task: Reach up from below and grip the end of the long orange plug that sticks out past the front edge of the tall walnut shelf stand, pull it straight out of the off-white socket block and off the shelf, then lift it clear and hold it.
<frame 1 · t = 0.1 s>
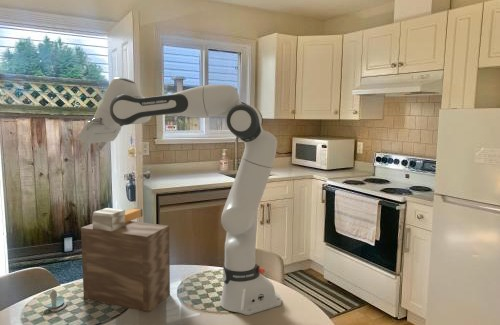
hand: (91, 151, 141), 54 cm above the table, tool tilted 30°, fingers open, 8 cm apart
shelf stand: (129, 295, 144), on the table
pacifier: (56, 308, 135), on the table
plug: (124, 221, 147), point 27 cm above the table, touching shelf stand
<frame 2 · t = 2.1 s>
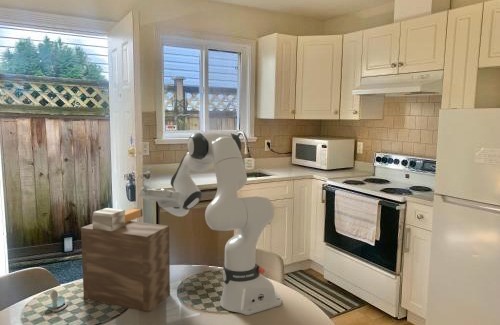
hand: (152, 189, 164), 36 cm above the table, tool pointing upward, fingers open, 8 cm apart
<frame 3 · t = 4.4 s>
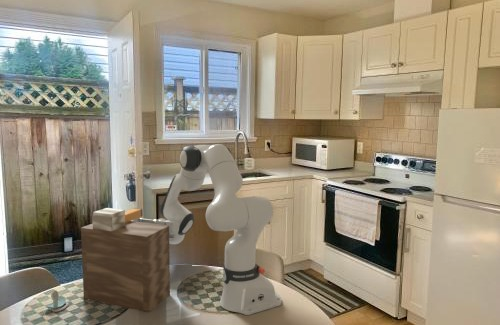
hand: (145, 220, 160), 24 cm above the table, tool pointing upward, fingers open, 8 cm apart
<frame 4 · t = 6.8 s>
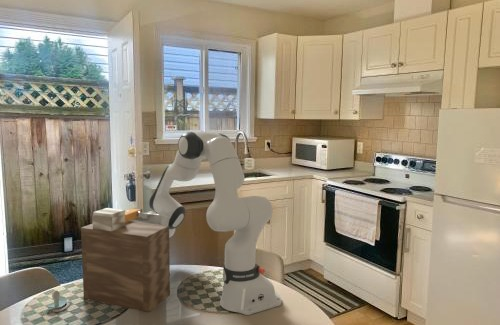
hand: (133, 213, 152), 29 cm above the table, tool pointing upward, fingers closed on plug, 3 cm apart
plug: (124, 221, 147), point 27 cm above the table, touching gripper, shelf stand
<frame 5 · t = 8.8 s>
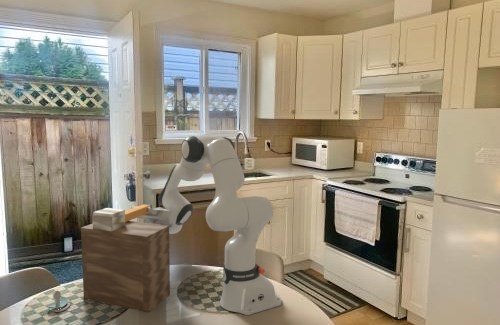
hand: (143, 208, 158), 29 cm above the table, tool pointing upward, fingers closed on plug, 3 cm apart
plug: (135, 216, 154), point 27 cm above the table, touching gripper
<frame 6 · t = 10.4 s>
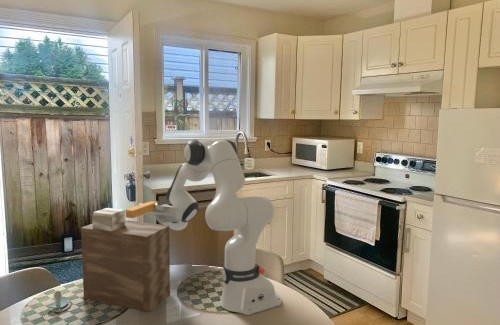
hand: (150, 205, 163), 30 cm above the table, tool pointing upward, fingers closed on plug, 3 cm apart
plug: (143, 212, 158), point 28 cm above the table, touching gripper
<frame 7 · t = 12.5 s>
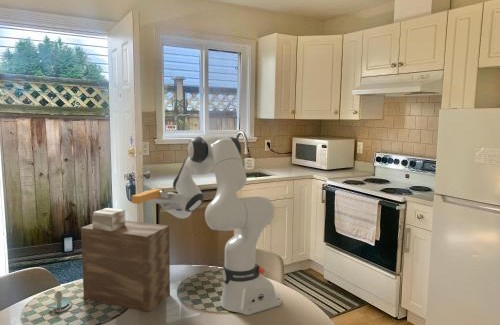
hand: (155, 192, 166), 34 cm above the table, tool pointing upward, fingers closed on plug, 3 cm apart
plug: (148, 199, 162), point 32 cm above the table, touching gripper
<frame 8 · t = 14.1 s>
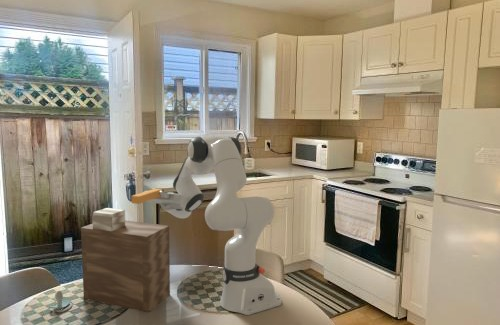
hand: (155, 192, 166), 34 cm above the table, tool pointing upward, fingers closed on plug, 3 cm apart
plug: (148, 199, 162), point 32 cm above the table, touching gripper
at the end: the gripper is holding plug; plug touching gripper; plug moved 16.9 cm from its start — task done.
